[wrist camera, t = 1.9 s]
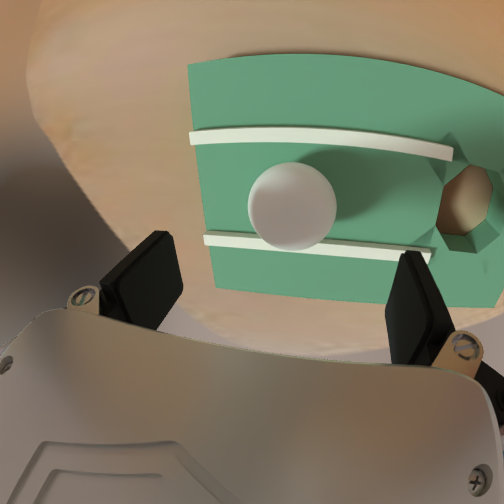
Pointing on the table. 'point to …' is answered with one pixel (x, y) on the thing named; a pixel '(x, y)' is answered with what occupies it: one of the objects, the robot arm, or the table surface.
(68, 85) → the table surface
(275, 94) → the putting mat
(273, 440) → the robot arm
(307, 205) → the ball
